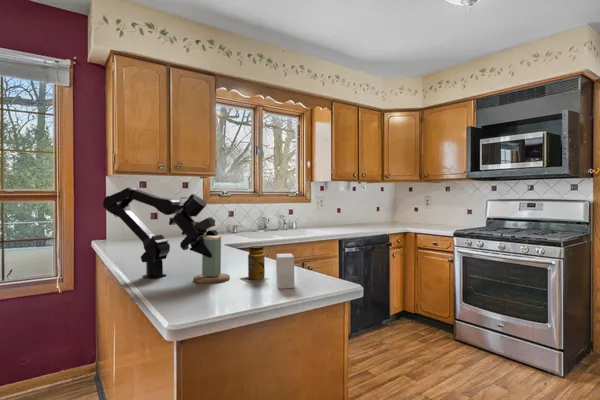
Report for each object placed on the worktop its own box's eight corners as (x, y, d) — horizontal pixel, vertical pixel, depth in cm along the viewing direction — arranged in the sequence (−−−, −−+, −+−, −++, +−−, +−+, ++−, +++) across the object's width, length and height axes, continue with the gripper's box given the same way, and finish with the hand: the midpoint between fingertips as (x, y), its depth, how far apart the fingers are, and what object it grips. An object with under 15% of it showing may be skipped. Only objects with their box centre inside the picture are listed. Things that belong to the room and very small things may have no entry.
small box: (294, 288, 119) (294, 256, 119) (277, 289, 118) (277, 257, 118) (292, 282, 127) (292, 253, 127) (276, 283, 126) (276, 253, 126)
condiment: (269, 279, 132) (268, 246, 132) (248, 282, 128) (247, 248, 128) (259, 275, 138) (259, 244, 138) (239, 278, 134) (239, 246, 134)
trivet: (186, 280, 132) (186, 277, 132) (214, 274, 142) (214, 271, 142) (208, 285, 124) (208, 282, 124) (237, 278, 134) (236, 275, 134)
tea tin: (201, 276, 131) (202, 237, 130) (207, 273, 136) (208, 235, 136) (215, 276, 130) (215, 237, 129) (221, 273, 135) (221, 236, 135)
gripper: (187, 211, 124) (217, 244, 122) (213, 209, 142) (239, 237, 140) (167, 233, 126) (196, 266, 124) (195, 228, 144) (221, 257, 142)
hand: (214, 255), depth 132 cm, fingers closed on tea tin, 5 cm apart
